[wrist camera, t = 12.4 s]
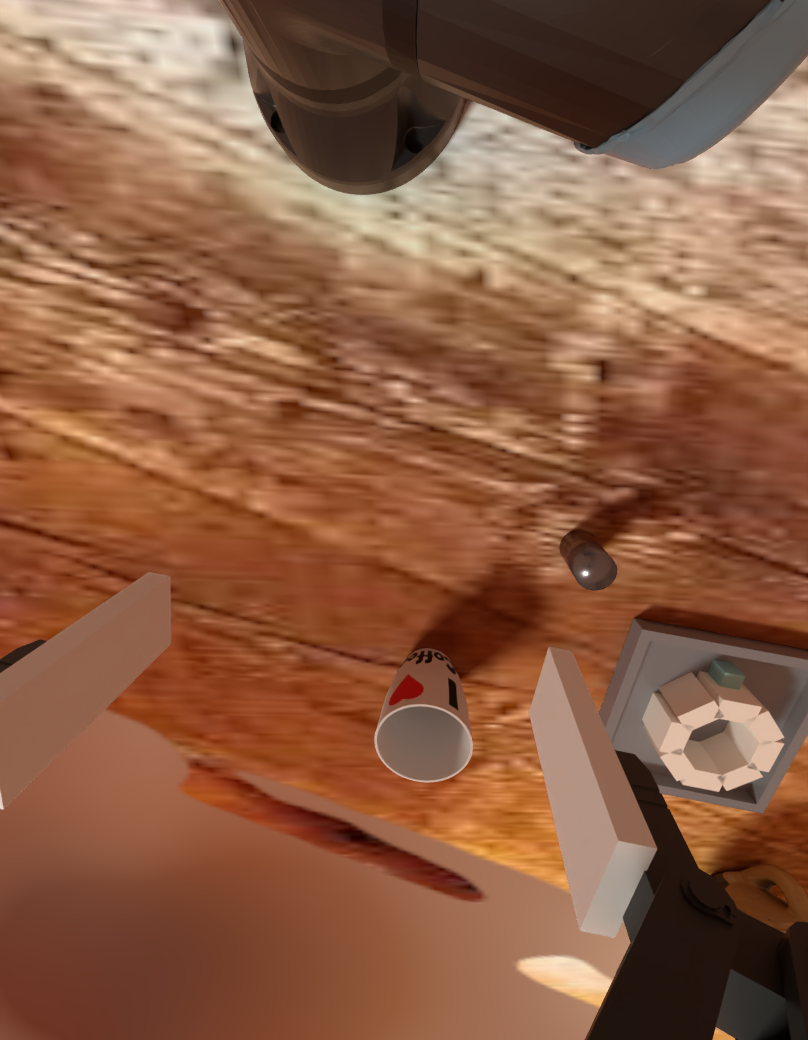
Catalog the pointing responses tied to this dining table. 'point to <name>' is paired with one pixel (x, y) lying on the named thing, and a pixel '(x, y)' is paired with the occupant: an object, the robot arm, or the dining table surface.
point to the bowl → (766, 895)
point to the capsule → (588, 560)
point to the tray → (769, 677)
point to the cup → (425, 720)
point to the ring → (724, 755)
